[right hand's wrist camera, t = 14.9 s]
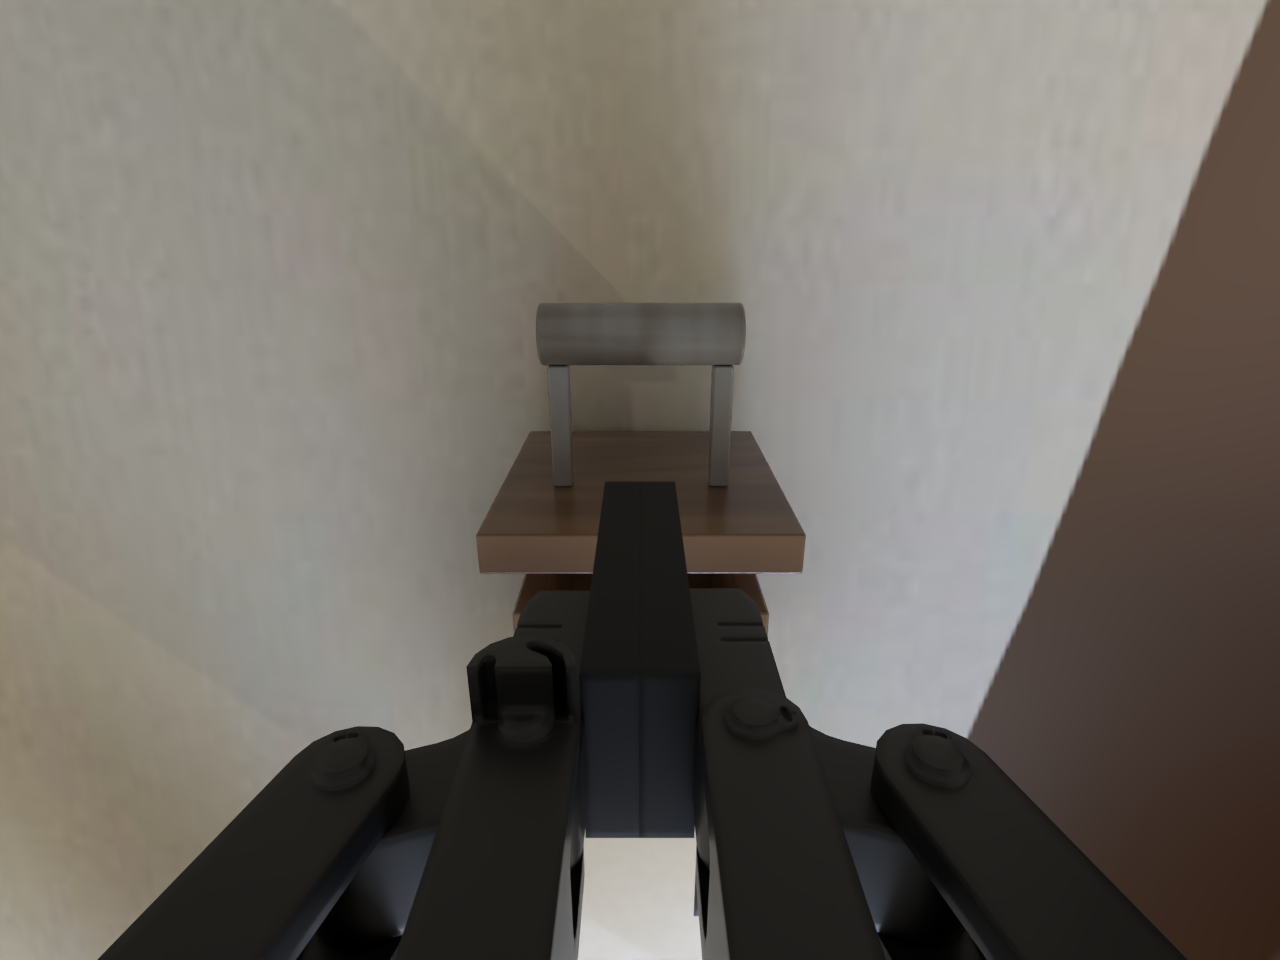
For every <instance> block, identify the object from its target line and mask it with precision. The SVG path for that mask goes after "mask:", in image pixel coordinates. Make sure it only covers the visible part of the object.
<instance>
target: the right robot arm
mask: <svg viewBox="0 0 1280 960" xmlns="http://www.w3.org/2000/svg"><path fill="white" fill-rule="evenodd" d="M467 675H468V684H469V693H470V702H471V711H472V720H473V722H472V725H471V728H470V729H469V730H468V731H466V732H464V733H462V734H460V735H458V736H456V737H454V738H452V739H449V740H446V741H442V742H439V743H436V744H432V745H428V746H423V747H419V748H415V749H411V750H407V751H404V746H403V743H402V742H401V741H400V740H399V739H398V737H397V736H396V735H395V734H394V733H392V732H390V731H387V730H384V729H382V728H379V727H353V728H349V729H344V730H340V731H335V732H333V733H331V734H329V735H327V736H325V737H323V738H320V739H318V740H316V741H314V742H313V743H311V744H310V745H309V746H307V747H306V748H305V749H304V750H302V751H301V752H300V753H299V754H297V755H296V756H295V757H294V758H293V759H292V760H291V761H290V762H289V763H288V764H287V765H286V766H285V767H284V768H283V769H282V770H281V771H280V772H279V773H278V774H277V775H276V776H275V777H274V778H273V779H272V781H271V782H270V783H269V784H268V785H267V786H266V787H265V788H264V789H263V790H262V791H261V792H260V793H259V794H258V795H257V796H256V797H255V798H254V799H253V800H252V801H251V802H250V803H249V804H248V805H247V806H246V807H245V808H244V809H243V810H242V811H241V812H240V813H239V815H238V816H237V817H236V818H235V819H234V820H233V821H232V822H231V823H230V824H229V825H228V826H227V827H226V828H225V829H224V830H223V831H222V832H221V833H220V834H219V835H218V836H217V837H216V838H215V839H214V840H213V841H212V842H211V843H210V844H209V845H208V846H207V847H206V848H205V850H204V851H203V852H202V853H201V854H200V855H199V856H198V857H197V858H196V859H195V860H194V861H193V862H192V863H191V864H190V865H189V866H188V867H187V868H186V869H185V870H184V871H183V872H182V873H181V874H180V875H179V876H178V877H177V878H176V879H175V880H174V881H173V882H172V884H171V885H170V886H169V887H168V888H167V889H166V890H165V891H164V892H163V893H162V894H161V895H160V896H159V897H158V898H157V899H156V900H155V901H154V902H153V903H152V904H151V905H150V906H149V907H148V908H147V909H146V910H145V911H144V912H143V913H142V914H141V915H140V916H139V917H138V919H137V920H136V921H135V922H134V923H133V924H132V925H131V926H130V927H129V928H128V929H127V930H126V931H125V932H124V933H123V934H122V935H121V936H120V937H119V938H118V939H117V940H116V941H115V942H114V943H113V944H112V945H111V946H110V947H109V948H108V949H107V950H106V951H105V953H104V954H103V955H102V956H101V957H100V958H99V959H98V960H578V951H579V938H580V926H581V914H582V902H583V889H584V877H585V870H584V836H585V835H586V838H694V835H695V832H696V843H697V846H696V870H695V895H694V916H699V925H700V938H701V950H702V960H1187V959H1186V958H1185V957H1184V956H1183V955H1182V954H1181V953H1180V952H1179V951H1178V950H1177V949H1176V947H1175V946H1173V944H1172V943H1171V942H1170V941H1169V940H1168V939H1167V938H1166V937H1165V936H1164V935H1163V934H1162V933H1161V932H1160V931H1159V930H1158V929H1157V928H1156V927H1155V926H1154V925H1153V924H1152V923H1151V922H1150V921H1149V920H1148V919H1147V918H1146V917H1145V916H1144V915H1143V914H1142V913H1141V912H1140V911H1139V910H1138V909H1137V908H1136V907H1135V906H1134V905H1133V904H1132V902H1131V901H1130V900H1129V899H1128V898H1127V897H1126V896H1125V895H1124V894H1123V893H1122V892H1121V891H1120V890H1119V889H1118V888H1117V887H1116V886H1115V885H1114V884H1113V883H1112V882H1111V881H1110V880H1109V879H1108V878H1107V877H1106V876H1105V875H1104V874H1103V873H1102V872H1101V871H1100V870H1099V869H1098V868H1097V867H1096V866H1095V865H1094V864H1093V863H1092V862H1091V861H1090V860H1089V859H1088V858H1087V856H1086V855H1085V854H1084V853H1083V852H1082V851H1081V850H1080V849H1079V848H1078V847H1077V846H1076V845H1075V844H1074V843H1073V842H1072V841H1071V840H1070V839H1069V838H1068V837H1067V836H1066V835H1065V834H1064V833H1063V832H1062V831H1061V830H1060V829H1059V828H1058V827H1057V826H1056V825H1055V824H1054V823H1053V822H1052V821H1051V820H1050V819H1049V818H1048V817H1047V816H1046V815H1045V814H1044V813H1043V811H1042V810H1041V809H1040V808H1039V807H1038V806H1037V805H1036V804H1035V803H1034V802H1033V801H1032V800H1031V799H1030V798H1029V797H1028V796H1027V795H1026V794H1025V793H1024V792H1023V791H1022V790H1021V789H1020V788H1019V787H1018V786H1017V785H1016V784H1015V783H1014V782H1013V781H1012V780H1011V779H1010V778H1009V777H1008V776H1007V775H1006V774H1005V773H1004V772H1003V771H1002V770H1001V769H1000V767H998V765H997V764H996V763H995V762H994V761H993V760H992V759H991V758H990V757H989V756H988V755H987V754H986V753H985V752H983V751H982V750H981V749H979V748H978V747H977V746H976V745H974V744H973V743H972V742H971V741H969V740H968V739H966V738H964V737H962V736H960V735H958V734H956V733H954V732H951V731H949V730H947V729H945V728H940V727H936V726H931V725H927V724H902V725H899V726H896V727H894V728H891V729H889V730H886V731H885V733H884V734H883V735H882V736H881V737H880V739H879V740H878V741H877V746H876V748H872V747H868V746H864V745H860V744H856V743H851V742H847V741H843V740H840V739H837V738H834V737H831V736H827V735H825V734H823V733H821V732H819V731H817V730H815V729H813V728H812V727H810V726H809V724H808V721H807V720H806V718H805V716H804V715H803V713H802V712H801V710H800V708H799V707H798V706H796V705H795V704H794V703H792V702H791V701H790V700H788V699H787V698H786V696H785V692H784V689H783V686H782V682H781V679H780V676H779V673H778V669H777V666H776V663H775V660H774V656H773V653H772V650H771V647H770V643H769V641H768V637H767V634H766V630H765V627H764V626H763V621H762V617H761V614H760V611H759V607H758V604H757V603H756V602H755V601H754V600H753V599H752V598H750V597H749V596H748V595H747V594H746V593H745V592H744V591H743V590H742V589H741V588H689V582H688V574H687V567H686V560H685V552H684V545H683V537H682V530H681V522H680V515H679V508H678V500H677V493H676V485H675V481H605V485H604V493H603V500H602V508H601V515H600V522H599V530H598V537H597V545H596V552H595V560H594V567H593V574H592V582H591V589H590V590H539V591H538V592H537V593H536V594H535V595H534V596H533V597H532V598H531V599H530V600H529V601H528V602H527V603H526V604H525V605H523V607H522V610H521V613H520V617H519V620H518V623H517V628H516V630H515V633H514V636H513V637H509V638H507V639H504V640H501V641H498V642H495V643H492V644H490V645H488V646H487V647H485V648H484V649H482V650H481V651H479V652H478V653H476V654H475V656H474V657H473V658H472V660H471V661H470V663H469V664H468V665H467Z"/></svg>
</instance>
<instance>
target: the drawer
mask: <svg viewBox="0 0 1280 960" xmlns="http://www.w3.org/2000/svg"><path fill="white" fill-rule="evenodd" d="M745 334H746V323H745V311H744V307H743V305H742V304H741V303H541V304H539V306H538V309H537V316H536V342H537V351H538V357H539V360H540V363H541V364H542V365H549V366H548V385H549V405H550V425H551V432H530V433H529V435H528V437H527V439H526V441H525V443H524V445H523V447H522V449H521V451H520V453H519V455H518V456H517V458H516V460H515V462H514V464H513V466H512V468H511V470H510V472H509V474H508V476H507V477H506V479H505V481H504V483H503V485H502V487H501V489H500V491H499V493H498V495H497V497H496V498H495V500H494V502H493V504H492V506H491V508H490V510H489V512H488V514H487V516H486V518H485V519H484V521H483V523H482V525H481V527H480V529H479V531H478V533H477V535H476V539H477V550H478V560H479V570H480V573H482V574H526V575H525V578H524V581H523V584H522V587H521V590H520V593H519V596H518V599H517V602H516V605H515V608H514V611H513V624H514V633H515V630H516V628H517V623H518V620H519V617H520V613H521V610H522V607H523V605H525V604H526V603H527V602H528V601H529V600H530V599H531V598H532V597H533V596H534V595H535V594H536V593H537V592H538V591H539V590H590V589H591V582H592V574H593V567H594V560H595V552H596V545H597V537H598V530H599V522H600V515H601V508H602V500H603V493H604V485H605V481H675V485H676V493H677V500H678V508H679V515H680V522H681V530H682V537H683V545H684V552H685V560H686V567H687V574H688V582H689V588H741V589H742V590H743V591H744V592H745V593H746V594H747V595H748V596H749V597H750V598H752V599H753V600H754V601H755V602H756V603H757V604H758V607H759V611H760V614H761V617H762V621H763V626H764V627H765V630H766V634H768V621H769V612H768V609H767V606H766V603H765V600H764V597H763V594H762V591H761V588H760V585H759V582H758V579H757V576H756V573H802V569H803V559H804V548H805V538H806V535H805V533H804V531H803V529H802V527H801V525H800V524H799V522H798V520H797V518H796V516H795V514H794V512H793V510H792V508H791V506H790V505H789V503H788V501H787V499H786V497H785V495H784V493H783V491H782V489H781V488H780V486H779V484H778V482H777V480H776V478H775V476H774V474H773V472H772V471H771V469H770V467H769V465H768V463H767V461H766V459H765V457H764V455H763V454H762V452H761V450H760V448H759V446H758V444H757V442H756V440H755V438H754V437H753V435H752V433H751V432H750V431H731V416H732V396H733V376H734V368H733V366H732V365H739V364H741V362H742V359H743V355H744V348H745ZM570 365H712V380H711V406H710V431H585V432H572V417H571V391H570Z"/></svg>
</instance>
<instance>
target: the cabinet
mask: <svg viewBox="0 0 1280 960" xmlns="http://www.w3.org/2000/svg"><path fill="white" fill-rule="evenodd" d="M696 846H697V843H696V832H695V835H694V838H586V835H585V836H584V870H585V877H584V889H583V902H582V914H581V926H580V938H579V951H578V960H702V950H701V938H700V925H699V916H694V895H695V870H696Z"/></svg>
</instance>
